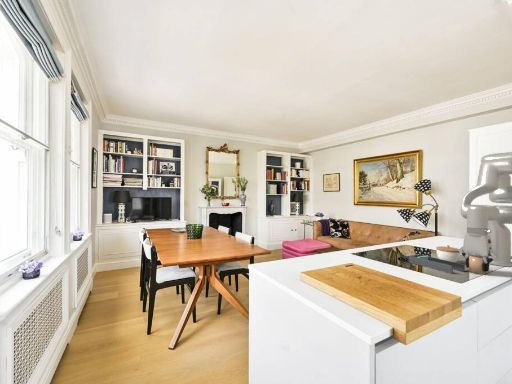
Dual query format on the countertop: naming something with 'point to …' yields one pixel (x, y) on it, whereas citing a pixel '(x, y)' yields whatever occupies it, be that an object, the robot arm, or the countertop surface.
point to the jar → (476, 264)
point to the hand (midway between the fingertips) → (477, 268)
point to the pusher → (424, 257)
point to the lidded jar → (448, 253)
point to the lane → (436, 263)
